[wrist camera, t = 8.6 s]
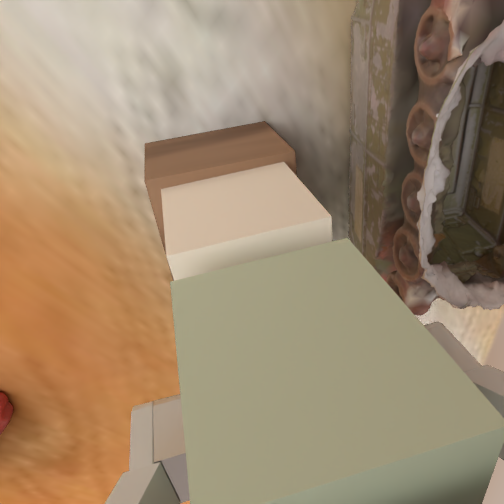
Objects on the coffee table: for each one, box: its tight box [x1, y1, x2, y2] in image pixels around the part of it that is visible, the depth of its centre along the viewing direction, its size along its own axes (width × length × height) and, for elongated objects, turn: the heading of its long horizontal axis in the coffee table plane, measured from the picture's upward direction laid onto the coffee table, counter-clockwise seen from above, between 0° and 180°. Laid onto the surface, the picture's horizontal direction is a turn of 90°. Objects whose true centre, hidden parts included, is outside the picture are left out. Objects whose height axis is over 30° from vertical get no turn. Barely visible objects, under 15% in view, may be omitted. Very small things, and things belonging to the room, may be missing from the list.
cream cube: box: [161, 162, 332, 281], centre depth 15 cm, size 5×5×5 cm
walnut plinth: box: [145, 121, 297, 281], centre depth 19 cm, size 6×6×5 cm
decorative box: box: [348, 0, 504, 315], centre depth 16 cm, size 13×20×10 cm, turn 1°
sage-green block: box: [170, 238, 504, 504], centre depth 10 cm, size 5×5×6 cm
